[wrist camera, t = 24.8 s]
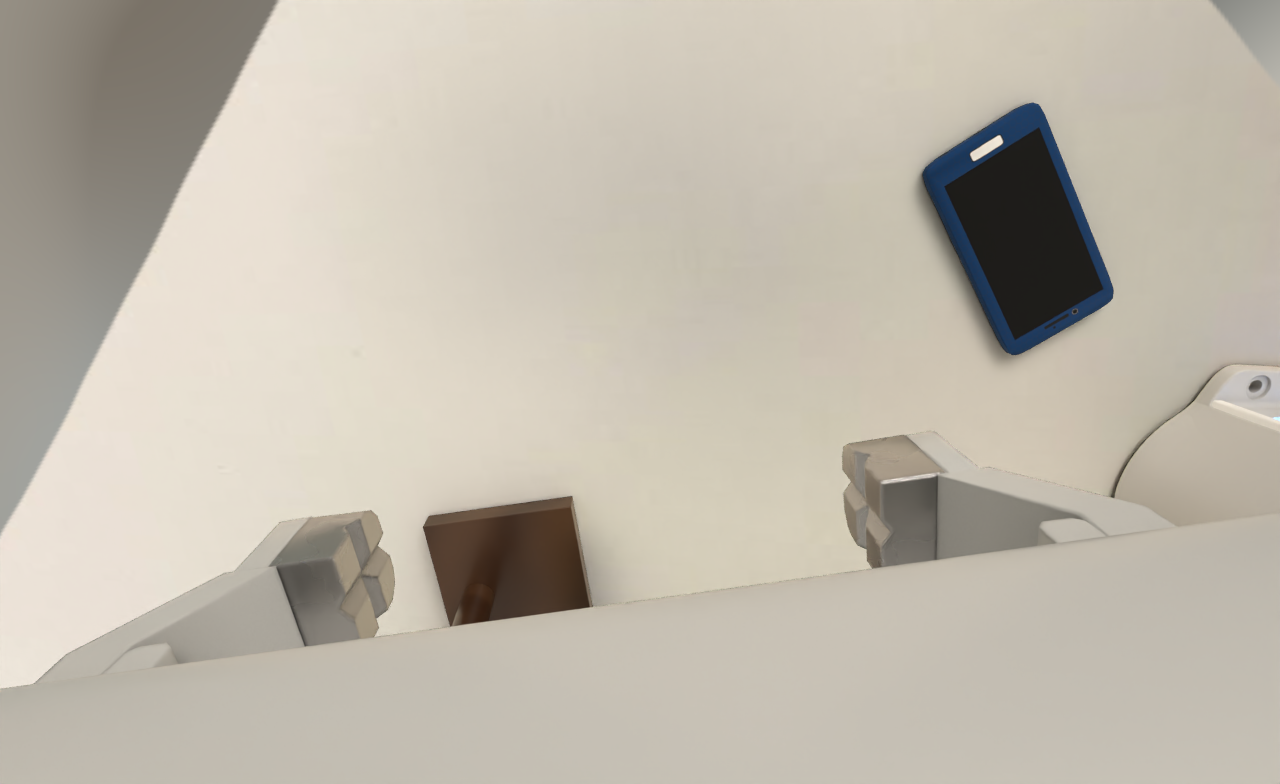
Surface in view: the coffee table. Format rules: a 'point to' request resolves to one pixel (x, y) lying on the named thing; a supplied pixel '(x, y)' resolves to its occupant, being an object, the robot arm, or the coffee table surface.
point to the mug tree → (509, 561)
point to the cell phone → (1019, 229)
